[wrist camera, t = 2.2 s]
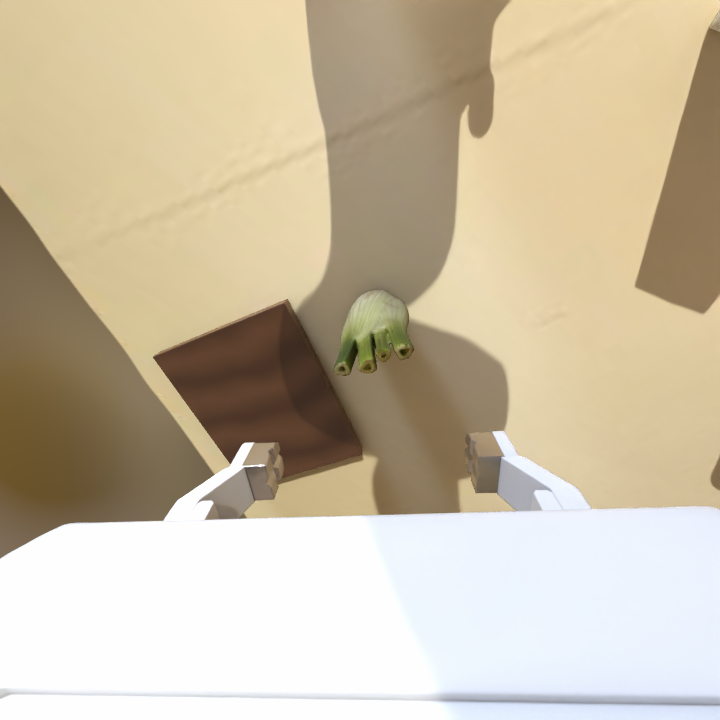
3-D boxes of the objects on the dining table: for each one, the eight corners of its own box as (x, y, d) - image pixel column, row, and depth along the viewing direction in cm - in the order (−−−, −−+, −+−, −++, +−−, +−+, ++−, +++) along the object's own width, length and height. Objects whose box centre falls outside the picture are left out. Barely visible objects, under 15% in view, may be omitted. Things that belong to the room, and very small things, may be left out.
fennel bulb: (344, 328, 35) (329, 385, 24) (350, 281, 32) (336, 319, 22) (399, 336, 35) (409, 396, 24) (408, 290, 33) (424, 332, 22)
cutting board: (160, 351, 37) (152, 357, 35) (287, 298, 33) (284, 302, 32) (251, 479, 44) (247, 488, 43) (362, 446, 41) (362, 454, 40)
